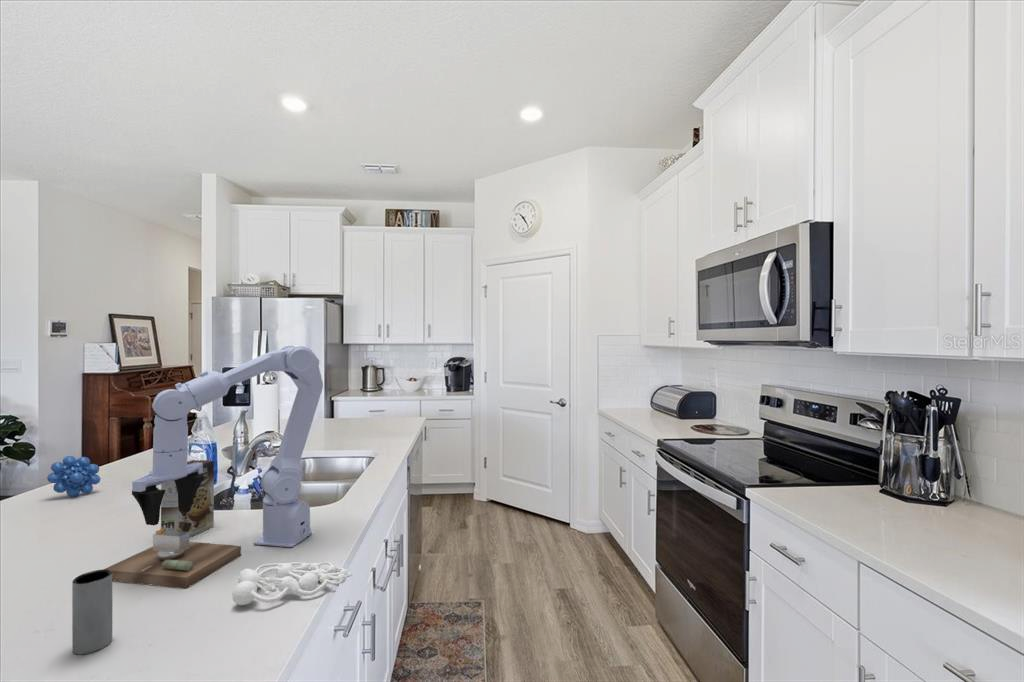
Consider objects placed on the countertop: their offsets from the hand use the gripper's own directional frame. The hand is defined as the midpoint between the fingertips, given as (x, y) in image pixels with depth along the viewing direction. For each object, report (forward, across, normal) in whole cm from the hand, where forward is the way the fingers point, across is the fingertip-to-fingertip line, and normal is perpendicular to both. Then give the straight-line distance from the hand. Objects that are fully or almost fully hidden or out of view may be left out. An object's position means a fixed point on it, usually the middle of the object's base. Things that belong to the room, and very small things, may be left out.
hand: (169, 517), depth 99 cm
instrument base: (+10, 0, +2) cm, 10 cm away
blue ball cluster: (+10, -33, -63) cm, 72 cm away
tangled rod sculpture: (+10, +2, +29) cm, 30 cm away
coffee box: (+10, -16, -10) cm, 22 cm away
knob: (+8, 0, +1) cm, 8 cm away
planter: (+10, +24, +11) cm, 28 cm away
